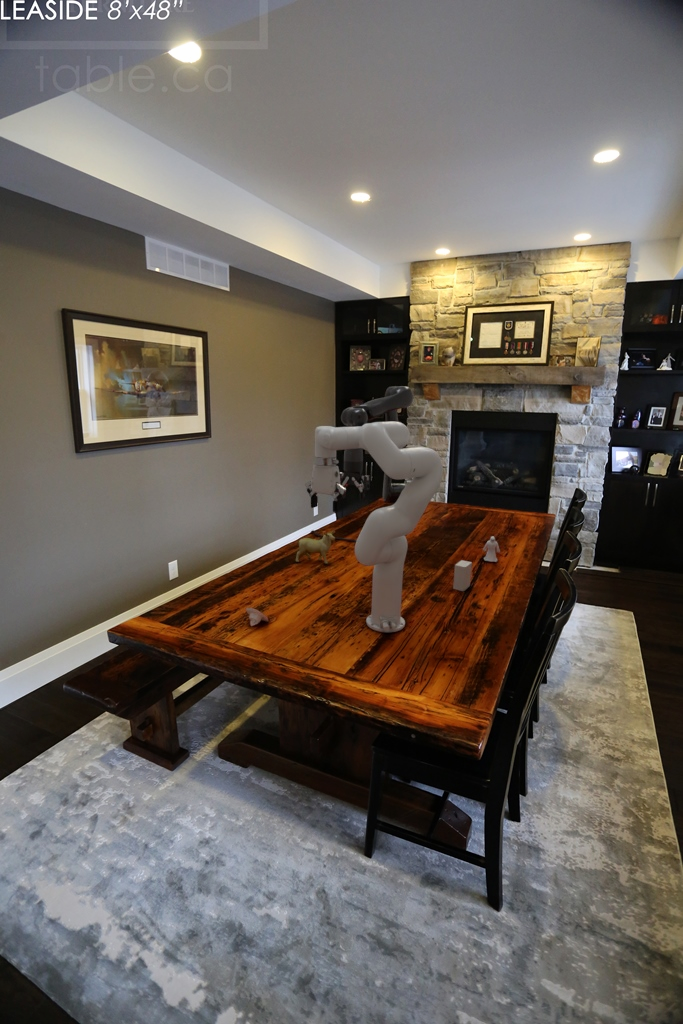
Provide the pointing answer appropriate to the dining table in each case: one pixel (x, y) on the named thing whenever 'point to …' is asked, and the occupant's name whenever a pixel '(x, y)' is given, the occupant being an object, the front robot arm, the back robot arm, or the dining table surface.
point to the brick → (462, 575)
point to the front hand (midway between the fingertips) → (324, 509)
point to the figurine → (491, 550)
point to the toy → (315, 546)
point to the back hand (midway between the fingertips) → (352, 499)
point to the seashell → (255, 616)
